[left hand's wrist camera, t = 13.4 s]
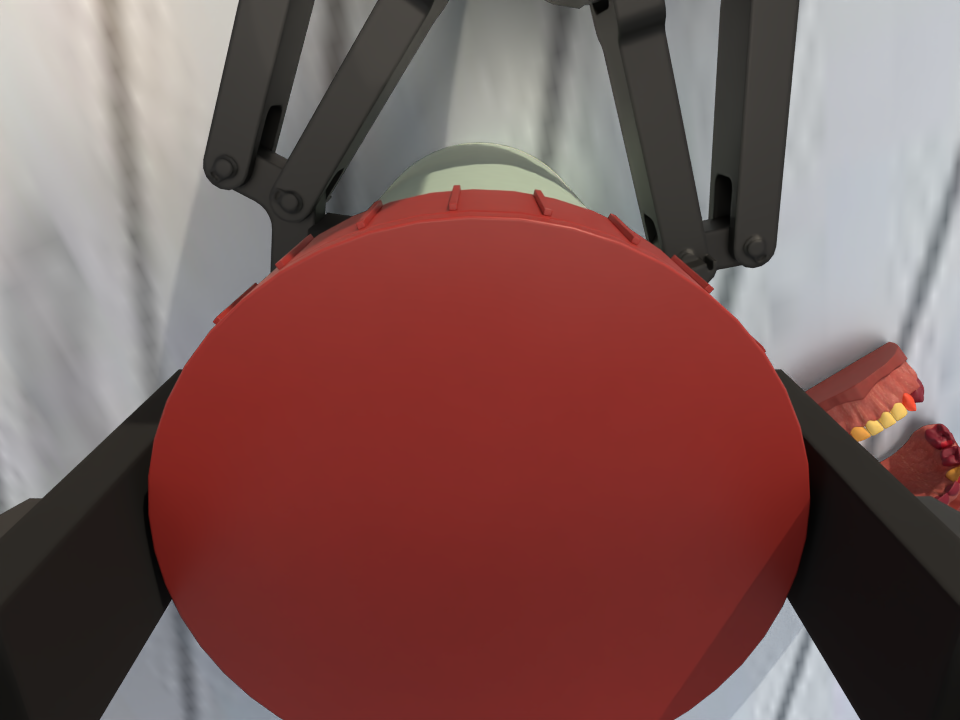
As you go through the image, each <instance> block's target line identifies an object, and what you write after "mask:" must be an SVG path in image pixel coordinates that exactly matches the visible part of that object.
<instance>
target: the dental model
mask: <svg viewBox="0 0 960 720" xmlns="http://www.w3.org/2000/svg"><path fill="white" fill-rule="evenodd" d="M906 360H907V357H906V356H905V355H904V353H903V352H902V350H901V349H900V348H899V346H898V345H897V344H895V343H892V342H888V343H886V344H885V345H883V346H881V347H880V348H878V349H876V350H875V351H873V352H871V353H869V354H868V355H866V356H864V357H863V358H861V359H859V360H858V361H856V362H854V363H852V364H851V365H849V366H847V367H846V368H844V369H842V370H841V371H839V372H837V373H836V374H834V375H832V376H831V377H829V378H827V379H826V380H824V381H822V382H821V383H819V384H817V385H816V386H814V387H812V388H811V389H809V390H807V391H806V392H805V393H807V394H808V395H809V396H810V397H811V398H812V399H813V400H814V401H815V402H816V403H817V404H818V405H819V406H820V407H821V408H822V409H823V410H825V411H826V412H827V413H828V414H829V415H830V416H831V417H832V418H833V419H834V420H835V421H836V422H837V423H838V424H839V425H840V426H841V427H843V428H844V429H845V430H846V431H847V432H848V433H849V434H850V433H851V434H850V435H851V436H852V437H853V438H854V439H855V440H856V441H858V442H859V441H862V440H865V439H867V438H869V437H870V436H871V435H872V436H873V435H876V434H878V433H879V432H881V431H883V430H884V429H883V427H884V428H885V429H886V428H888V427H890V426H892V425H893V424H895V423H896V421H898V420H900V419H902V418H903V417H905V416H906V415H907V410H909V411H916V404H915V403H918V402H923V401H924V387H923V385H922V383H921V381H920V380H919V379H918V378H917V374H916V372H915V371H914V370H913V369H912V368H911V367H910V366H909V365H908V363H907V362H906ZM889 412H890V413H891V414H890V413H889ZM893 417H894V418H893ZM877 420H879V422H880V423H881V424H882V426H883V427H882V426H881V425H880V423H879V422H878V421H877ZM895 420H896V421H895ZM864 426H865V427H866V429H867V430H866V429H865V428H864ZM869 433H870V434H871V435H870V434H869ZM880 463H881V464H882V465H883V466H884V467H885V468H886V469H887V470H888V471H889V472H890V473H891V474H892V475H893V476H894V477H895V478H896V479H898V480H899V481H900V482H901V483H902V484H903V485H904V486H905V487H906V488H907V489H908V490H909V491H910V492H911V493H912V494H913V495H914V496H932V497H934V498H935V499H937V500H939V501H941V502H943V503H945V504H946V505H948V506H950V507H952V508H954V509H955V510H957V511H959V512H960V447H959V446H958V444H957V443H956V441H955V439H954V437H953V435H952V433H951V432H949V430H948V428H947V427H946V426H944V425H943V424H932V425H926V426H923V427H921V428H920V429H918V430H917V431H915V432H914V433H913V434H912V435H911V437H910V438H909V440H908V441H907V442H906V443H905V444H904V445H903V446H902V447H901V448H900V449H899V450H898V451H897V452H896V453H894V454H893V455H892V456H890V457H888V458H887V459H885V460H883V461H882V462H880Z"/></svg>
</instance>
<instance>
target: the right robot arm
mask: <svg viewBox="0 0 960 720" xmlns="http://www.w3.org/2000/svg"><path fill="white" fill-rule="evenodd" d="M314 1H315V0H239V3H238V7H237V12H236V16H235V21H234V25H233V30H232V34H231V39H230V43H229V48H228V52H227V57H226V61H225V65H224V70H223V74H222V79H221V83H220V88H219V92H218V97H217V101H216V106H215V110H214V115H213V119H212V124H211V128H210V133H209V137H208V141H207V146H206V150H205V155H204V159H203V169H204V171H205V174H206V177H207V178H208V179H209V180H210V182H211V183H212V184H213V185H215V186H217V187H218V188H220V189H225V190H231V189H233V190H235V191H236V192H238V193H240V194H242V195H244V196H246V197H248V198H250V199H252V200H254V201H256V202H257V203H259V204H260V205H261V206H262V207H263V208H264V209H265V210H266V212H267V213H268V215H269V217H270V220H271V223H272V249H271V272H272V271H274V270H275V269H276V268H277V267H276V265H275V264H276V263H277V262H278V261H279V260H280V259H282V258H283V257H284V256H285V255H286V254H287V253H288V252H290V251H291V250H292V249H293V248H294V247H295V246H296V245H298V244H299V243H300V242H301V241H302V240H303V239H304V238H305V237H307V236H308V235H310V234H311V235H312V236H313V237H314V238H315V237H316V236H318V235H319V234H321V233H323V232H325V231H326V230H328V229H330V228H332V227H334V226H336V225H337V224H339V223H341V222H343V221H345V220H347V219H349V218H350V217H351V216H346V215H340V214H333V213H327V214H326V215H325V204H326V202H328V201H329V199H330V198H331V197H332V196H330V195H331V193H332V192H333V190H334V188H335V187H336V185H337V183H338V182H339V180H340V178H341V177H342V175H343V173H344V172H345V170H346V168H347V167H348V165H349V163H350V162H351V160H352V158H353V157H354V155H355V153H356V152H357V150H358V148H359V147H360V145H361V143H362V142H363V140H364V138H365V137H366V135H367V133H368V131H369V130H370V128H371V126H372V125H373V123H374V121H375V120H376V118H377V116H378V115H379V113H380V111H381V110H382V108H383V106H384V105H385V103H386V101H387V100H388V98H389V96H390V95H391V93H392V91H393V90H394V88H395V86H396V85H397V83H398V81H399V80H400V78H401V76H402V75H403V73H404V71H405V70H406V68H407V66H408V65H409V63H410V61H411V60H412V58H413V56H414V55H415V53H416V51H417V50H418V48H419V46H420V45H421V43H422V41H423V40H424V38H425V36H426V35H427V33H428V31H429V30H430V28H431V26H432V25H433V23H434V21H435V20H436V19H437V17H438V16H439V15H440V14H441V12H442V11H443V9H444V8H445V6H446V4H447V3H448V1H449V0H378V1H377V3H376V5H375V7H374V8H373V10H372V12H371V14H370V15H369V17H368V19H367V21H366V22H365V24H364V26H363V28H362V30H361V31H360V33H359V35H358V37H357V38H356V40H355V42H354V44H353V45H352V47H351V49H350V51H349V53H348V54H347V56H346V58H345V60H344V61H343V63H342V65H341V67H340V68H339V70H338V72H337V74H336V76H335V77H334V79H333V81H332V83H331V84H330V86H329V88H328V90H327V91H326V93H325V95H324V97H323V99H322V100H321V102H320V104H319V106H318V107H317V109H316V111H315V113H314V114H313V116H312V118H311V120H310V121H309V123H308V125H307V127H306V129H305V130H304V132H303V134H302V136H301V137H300V139H299V141H298V143H297V144H296V146H295V148H294V150H293V152H292V153H291V155H290V157H289V159H286V158H284V157H282V156H280V155H278V154H276V153H275V151H276V147H277V143H278V139H279V136H280V132H281V128H282V124H283V120H284V116H285V113H286V109H287V105H288V101H289V97H290V93H291V90H292V86H293V82H294V78H295V74H296V70H297V66H298V63H299V59H300V55H301V51H302V47H303V43H304V40H305V36H306V32H307V28H308V24H309V20H310V17H311V13H312V9H313V5H314ZM545 1H547V2H549V3H551V4H555V5H560V6H566V7H572V8H578V9H580V8H581V7H582V6H584V5H589V4H590V9H591V13H592V17H593V22H594V26H595V30H596V34H597V37H598V40H599V42H600V44H601V46H602V49H603V52H604V56H605V61H606V65H607V70H608V74H609V78H610V83H611V87H612V91H613V96H614V100H615V105H616V109H617V113H618V118H619V122H620V126H621V131H622V135H623V140H624V144H625V148H626V153H627V157H628V161H629V166H630V170H631V174H632V179H633V183H634V188H635V192H636V196H637V201H638V205H639V209H640V214H641V218H642V223H643V227H644V231H645V236H646V240H647V241H648V242H650V243H651V244H653V245H654V246H656V247H657V248H659V249H660V250H661V251H663V252H664V253H665V254H666V255H667V256H668V257H669V258H670V259H671V258H672V257H673V256H674V255H676V256H677V257H678V258H679V259H680V260H682V261H683V262H684V263H685V264H686V265H687V266H688V267H690V268H691V269H692V270H693V271H694V272H695V273H697V274H698V275H699V276H700V277H701V278H702V279H703V280H705V281H706V282H707V283H708V282H709V281H710V280H711V279H712V278H713V277H714V275H715V273H716V271H717V270H719V269H724V268H729V267H734V266H739V265H743V266H744V267H749V268H756V267H759V266H762V265H764V264H765V263H767V262H768V261H769V260H770V259H771V257H772V256H773V255H774V252H775V248H776V243H777V232H778V222H779V211H780V200H781V190H782V179H783V169H784V158H785V147H786V137H787V126H788V116H789V105H790V95H791V84H792V73H793V63H794V52H795V42H796V31H797V20H798V10H799V0H721V7H720V22H719V40H718V58H717V76H716V94H715V111H714V129H713V147H712V165H711V182H710V200H709V218H708V220H703V221H702V217H701V212H700V207H699V202H698V197H697V191H696V186H695V181H694V176H693V171H692V166H691V161H690V156H689V151H688V146H687V140H686V135H685V130H684V125H683V120H682V115H681V110H680V105H679V100H678V95H677V89H676V84H675V79H674V74H673V69H672V64H671V59H670V54H669V49H668V43H667V38H666V33H665V19H666V7H665V0H545Z"/></svg>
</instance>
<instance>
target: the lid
mask: <svg viewBox="0 0 960 720" xmlns="http://www.w3.org/2000/svg"><path fill="white" fill-rule="evenodd" d="M275 265H276V267H277V268H276V269H275V270H274V271H272V272H271V273H270V274H269V275H268V276H267V277H266V278H265V279H264V280H262V281H261V282H260V283H259V284H257V283H255V284H253V285H252V286H251V287H250V288H249V289H248V290H247V291H245V292H244V293H243V294H242V295H241V296H240V297H239V298H238V299H236V300H235V301H234V302H233V303H232V304H231V305H230V306H228V307H227V308H226V309H225V310H224V311H223V312H222V313H221V314H219V315H218V316H217V317H216V318H215V320H214V321H213V323H215V324H216V325H215V326H214V327H213V328H212V329H211V330H210V332H209V333H208V334H207V336H206V337H205V339H204V340H203V341H202V343H201V344H200V345H199V347H198V348H197V349H196V351H195V352H194V353H193V355H192V356H191V358H190V359H189V360H188V362H187V363H186V364H185V366H184V368H183V370H182V372H181V374H180V376H179V378H178V380H177V382H176V384H175V385H174V387H173V389H172V391H171V393H170V395H169V397H168V399H167V401H166V404H165V407H164V410H163V413H162V416H161V419H160V422H159V425H158V428H157V431H156V434H155V437H154V442H153V449H152V455H151V462H150V468H149V474H148V516H149V522H150V528H151V535H152V541H153V547H154V552H155V555H156V558H157V561H158V564H159V567H160V571H161V574H162V577H163V580H164V583H165V586H166V588H167V590H168V592H169V594H170V596H171V598H172V600H173V602H174V604H175V606H176V608H177V610H178V612H179V614H180V616H181V618H182V619H183V621H184V622H185V624H186V625H187V627H188V628H189V630H190V631H191V633H192V634H193V636H194V637H195V639H196V640H197V642H198V643H199V645H200V646H201V647H202V649H203V650H204V651H205V652H206V653H207V654H208V655H209V657H210V658H211V659H212V660H213V661H214V662H215V664H216V665H217V666H218V667H219V668H220V669H221V670H222V672H223V673H224V674H225V675H227V676H228V677H229V678H230V679H231V680H232V681H233V682H234V683H235V684H237V685H238V686H239V687H240V688H241V689H242V690H243V691H244V692H245V693H247V694H248V695H249V696H250V697H251V698H253V699H254V700H255V701H257V702H258V703H260V704H261V705H262V706H264V707H265V708H267V709H268V710H269V711H271V712H272V713H274V714H275V715H276V716H278V717H279V718H281V719H283V720H674V719H676V718H678V717H679V716H681V715H683V714H684V713H686V712H687V711H689V710H690V709H692V708H693V707H694V706H696V705H697V704H698V703H699V702H701V701H702V700H703V699H705V698H706V697H707V696H708V695H710V694H711V693H712V692H714V691H715V690H716V689H717V688H718V687H719V686H720V685H721V684H722V683H724V682H725V681H726V680H727V679H728V678H729V677H730V676H731V675H732V674H733V673H734V672H735V671H736V670H737V669H738V668H739V667H740V666H741V665H742V664H743V663H744V661H745V660H746V659H747V658H748V656H749V655H750V654H751V653H752V651H753V650H754V649H755V648H756V646H757V645H758V644H759V643H760V641H761V640H762V639H763V638H764V636H765V635H766V633H767V631H768V630H769V628H770V627H771V625H772V623H773V622H774V620H775V618H776V617H777V615H778V613H779V612H780V610H781V608H782V607H783V605H784V602H785V600H786V598H787V595H788V593H789V591H790V588H791V586H792V584H793V581H794V579H795V577H796V574H797V571H798V568H799V564H800V560H801V556H802V553H803V549H804V545H805V541H806V536H807V527H808V518H809V509H810V488H809V467H808V460H807V455H806V450H805V446H804V441H803V436H802V431H801V427H800V424H799V421H798V419H797V416H796V414H795V411H794V408H793V406H792V403H791V401H790V398H789V395H788V393H787V390H786V388H785V386H784V385H783V383H782V381H781V380H780V378H779V376H778V374H777V373H776V371H775V369H774V368H773V366H772V364H771V362H770V361H769V359H768V357H767V356H766V354H765V352H766V351H765V349H764V347H763V346H762V345H761V344H760V343H759V342H757V341H756V340H755V339H754V338H753V337H752V336H751V335H750V334H749V333H748V332H747V330H746V329H745V328H744V327H743V326H742V324H741V323H740V322H739V321H738V319H736V318H735V317H734V316H733V315H732V314H731V313H730V312H729V311H728V310H727V309H725V308H724V307H723V306H722V305H721V304H720V303H719V302H718V301H717V300H716V299H714V298H713V297H712V296H711V295H710V294H709V293H711V292H712V291H713V290H714V288H713V287H711V286H710V285H709V284H708V283H707V282H706V281H705V280H703V279H702V278H701V277H700V276H699V275H698V274H697V273H695V272H694V271H693V270H692V269H691V268H690V267H688V266H687V265H686V264H685V263H684V262H683V261H682V260H680V259H679V258H678V257H677V256H676V255H674V256H673V257H672V258H671V259H670V258H669V257H668V256H667V255H666V254H665V253H664V252H663V251H661V250H660V249H659V248H657V247H656V246H654V245H653V244H651V243H650V242H648V241H647V240H645V239H644V238H642V237H641V236H639V235H638V234H636V233H635V232H633V231H632V230H631V229H629V228H628V227H627V226H626V225H625V224H624V223H623V222H622V221H621V220H620V219H619V218H618V217H617V216H615V215H613V214H610V215H609V217H608V218H607V217H605V216H602V215H600V214H598V213H596V212H594V211H592V210H589V209H586V208H583V207H580V206H576V205H573V204H570V203H567V202H564V201H561V200H558V199H555V198H550V197H545V196H544V195H543V193H542V191H541V190H537V189H535V190H534V195H533V194H528V193H522V192H517V191H505V190H482V189H467V190H461V187H460V185H454V186H453V190H452V191H445V192H433V193H428V194H423V195H419V196H414V197H410V198H405V199H401V200H397V201H392V202H389V203H386V204H384V205H383V204H382V201H381V200H379V201H376V202H374V204H373V205H372V206H371V207H370V208H369V209H368V210H367V211H365V212H362V213H360V214H357V215H354V216H352V217H350V218H349V219H347V220H345V221H343V222H341V223H339V224H337V225H336V226H334V227H332V228H330V229H328V230H326V231H325V232H323V233H321V234H319V235H318V236H316V237H315V238H314V237H313V236H312V235H311V234H310V235H308V236H307V237H305V238H304V239H303V240H302V241H301V242H300V243H299V244H298V245H296V246H295V247H294V248H293V249H292V250H291V251H290V252H288V253H287V254H286V255H285V256H284V257H283V258H282V259H280V260H279V261H278V262H277V263H276V264H275Z"/></svg>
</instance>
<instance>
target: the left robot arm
mask: <svg viewBox="0 0 960 720" xmlns="http://www.w3.org/2000/svg"><path fill="white" fill-rule="evenodd" d="M182 370H183V369H179V370H178V371H177V372H176V373H175V374H174V375H173V376H171V377H170V378H169V379H168V380H167V381H166V382H165V383H164V384H163V385H162V386H161V387H160V388H159V389H158V390H157V391H156V392H155V393H154V394H152V395H151V396H150V397H149V398H148V399H147V400H146V401H145V402H144V403H143V404H142V405H141V406H140V407H139V408H138V409H137V410H136V411H134V412H133V413H132V414H131V415H130V416H129V417H128V418H127V419H126V420H125V421H124V422H123V423H122V424H121V425H120V426H119V427H118V428H116V429H115V430H114V431H113V432H112V433H111V434H110V435H109V436H108V437H107V438H106V439H105V440H104V441H103V442H102V443H101V444H100V445H98V446H97V447H96V448H95V449H94V450H93V451H92V452H91V453H90V454H89V455H88V456H87V457H86V458H85V459H84V460H83V461H82V462H80V463H79V464H78V465H77V466H76V467H75V468H74V469H73V470H72V471H71V472H70V473H69V474H68V475H67V476H66V477H65V478H64V479H62V480H61V481H60V482H59V483H58V484H57V485H56V486H55V487H54V488H53V489H52V490H51V491H50V492H49V493H48V494H47V495H46V496H44V497H43V498H29V499H28V500H26V501H24V502H22V503H20V504H19V505H17V506H15V507H13V508H11V509H10V510H8V511H6V512H4V513H2V514H1V515H0V720H100V718H101V717H102V715H103V713H104V712H105V710H106V708H107V707H108V705H109V703H110V702H111V700H112V698H113V697H114V695H115V693H116V692H117V690H118V688H119V687H120V685H121V683H122V682H123V680H124V678H125V676H126V675H127V673H128V671H129V670H130V668H131V666H132V665H133V663H134V661H135V660H136V658H137V656H138V655H139V653H140V651H141V650H142V648H143V646H144V645H145V643H146V641H147V640H148V638H149V636H150V635H151V633H152V631H153V630H154V628H155V626H156V625H157V623H158V621H159V620H160V618H161V616H162V615H163V613H164V611H165V610H166V608H167V606H168V605H169V603H170V601H171V600H172V598H171V596H170V594H169V592H168V590H167V588H166V586H165V583H164V580H163V577H162V574H161V571H160V567H159V564H158V561H157V558H156V555H155V552H154V547H153V541H152V535H151V528H150V522H149V516H148V474H149V468H150V462H151V455H152V449H153V442H154V437H155V434H156V431H157V428H158V425H159V422H160V419H161V416H162V413H163V410H164V407H165V404H166V401H167V399H168V397H169V395H170V393H171V391H172V389H173V387H174V385H175V384H176V382H177V380H178V378H179V376H180V374H181V372H182ZM775 371H776V373H777V374H778V376H779V378H780V380H781V381H782V383H783V385H784V386H785V388H786V390H787V393H788V395H789V398H790V401H791V403H792V406H793V408H794V411H795V414H796V416H797V419H798V421H799V424H800V427H801V431H802V436H803V441H804V446H805V450H806V455H807V460H808V467H809V488H810V509H809V518H808V527H807V536H806V541H805V545H804V549H803V553H802V556H801V560H800V564H799V568H798V571H797V574H796V577H795V579H794V581H793V584H792V586H791V588H790V591H789V593H788V595H787V598H788V600H789V601H790V603H791V605H792V606H793V608H794V610H795V611H796V613H797V615H798V616H799V618H800V620H801V621H802V623H803V625H804V626H805V628H806V630H807V631H808V633H809V635H810V636H811V638H812V640H813V641H814V643H815V645H816V646H817V648H818V650H819V651H820V653H821V655H822V656H823V658H824V660H825V661H826V663H827V665H828V666H829V668H830V670H831V671H832V673H833V675H834V676H835V678H836V680H837V681H838V683H839V685H840V686H841V688H842V690H843V691H844V693H845V695H846V696H847V698H848V700H849V702H850V703H851V705H852V707H853V708H854V710H855V712H856V713H857V715H858V717H859V718H860V720H960V512H959V511H957V510H955V509H954V508H952V507H950V506H948V505H946V504H945V503H943V502H941V501H939V500H937V499H935V498H934V497H932V496H914V495H913V494H912V493H911V492H910V491H909V490H908V489H907V488H906V487H905V486H904V485H903V484H902V483H901V482H900V481H899V480H898V479H896V478H895V477H894V476H893V475H892V474H891V473H890V472H889V471H888V470H887V469H886V468H885V467H884V466H883V465H882V464H881V463H880V462H878V461H877V460H876V459H875V458H874V457H873V456H872V455H871V454H870V453H869V452H868V451H867V450H866V449H865V448H864V447H863V446H862V445H860V444H859V443H858V442H857V441H856V440H855V439H854V438H853V437H852V436H851V435H850V434H849V433H848V432H847V431H846V430H845V429H844V428H843V427H841V426H840V425H839V424H838V423H837V422H836V421H835V420H834V419H833V418H832V417H831V416H830V415H829V414H828V413H827V412H826V411H825V410H823V409H822V408H821V407H820V406H819V405H818V404H817V403H816V402H815V401H814V400H813V399H812V398H811V397H810V396H809V395H808V394H807V393H805V392H804V391H803V390H802V389H801V388H800V387H799V386H798V385H797V384H796V383H795V382H794V381H793V380H792V379H791V378H790V377H789V376H787V375H786V374H785V373H784V372H783V371H782V370H781V369H775Z"/></svg>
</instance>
